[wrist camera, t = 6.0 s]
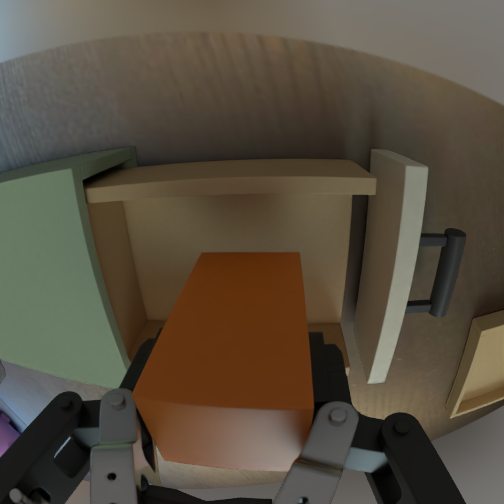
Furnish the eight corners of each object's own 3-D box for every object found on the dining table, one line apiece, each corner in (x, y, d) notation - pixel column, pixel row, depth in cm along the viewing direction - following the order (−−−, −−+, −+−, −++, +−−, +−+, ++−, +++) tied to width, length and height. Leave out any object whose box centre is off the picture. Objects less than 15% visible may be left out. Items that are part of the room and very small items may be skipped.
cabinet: (135, 146, 20) (71, 167, 13) (166, 325, 26) (135, 392, 19) (-22, 179, 21) (-79, 205, 14) (16, 309, 27) (-23, 351, 20)
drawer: (445, 155, 17) (495, 174, 12) (414, 325, 23) (439, 375, 18) (114, 158, 19) (64, 178, 14) (147, 325, 25) (121, 375, 19)
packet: (299, 251, 16) (314, 408, 7) (297, 316, 18) (302, 471, 9) (201, 252, 16) (130, 395, 8) (209, 315, 18) (163, 460, 9)
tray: (472, 318, 23) (481, 331, 21) (536, 299, 22) (546, 309, 20) (444, 406, 29) (449, 418, 27) (503, 385, 27) (509, 396, 25)
